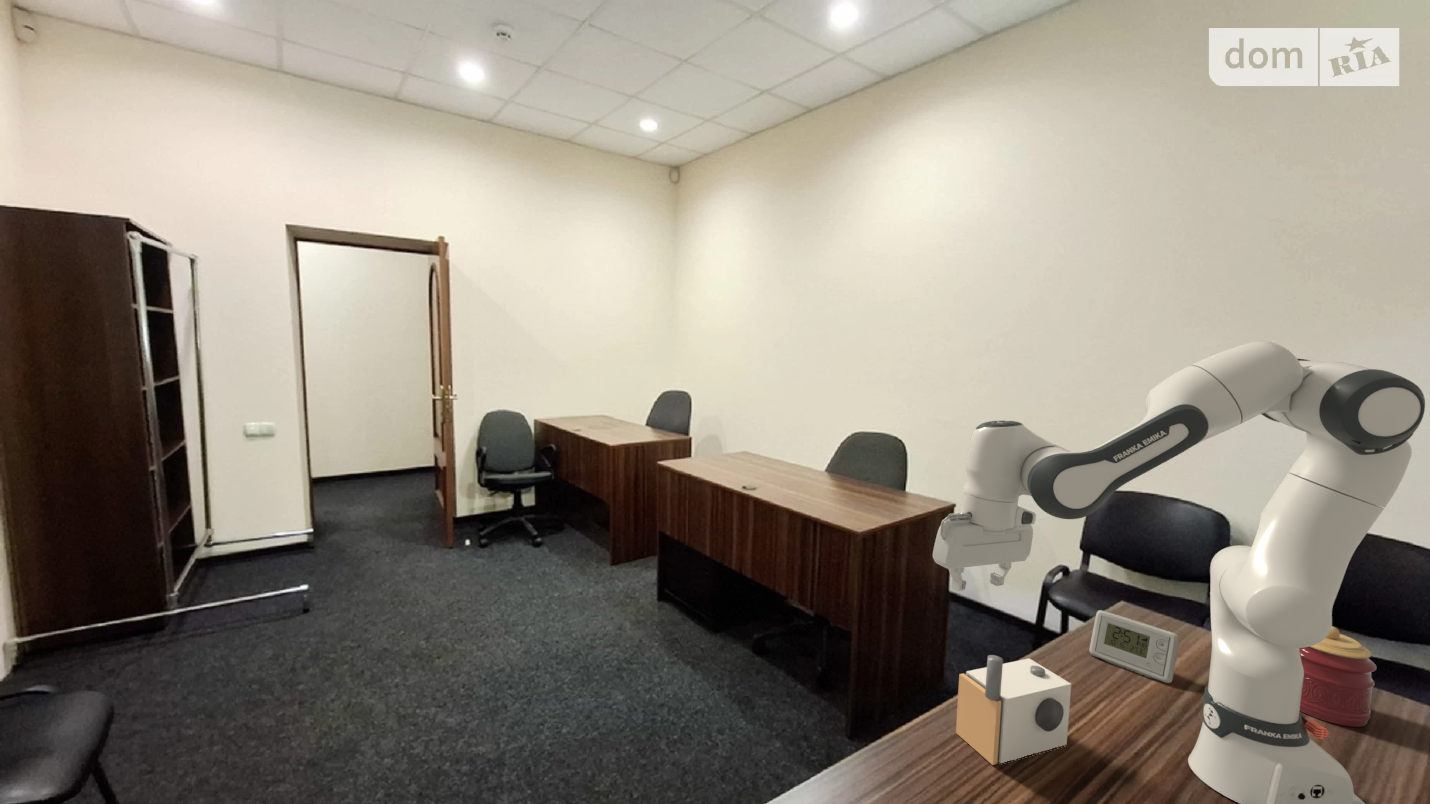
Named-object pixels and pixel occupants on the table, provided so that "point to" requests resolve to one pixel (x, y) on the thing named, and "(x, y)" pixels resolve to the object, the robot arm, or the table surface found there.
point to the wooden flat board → (981, 710)
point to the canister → (1337, 680)
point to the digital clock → (1134, 646)
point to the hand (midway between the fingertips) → (977, 586)
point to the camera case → (1029, 708)
